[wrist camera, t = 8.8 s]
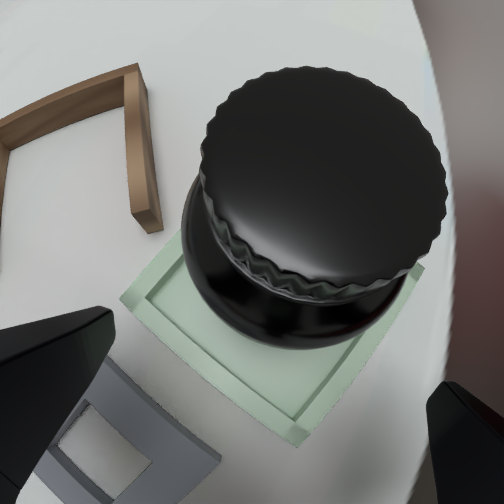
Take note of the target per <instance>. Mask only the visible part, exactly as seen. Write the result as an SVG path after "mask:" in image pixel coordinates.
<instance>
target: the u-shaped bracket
mask: <svg viewBox="0 0 504 504" xmlns="http://www.w3.org/2000/svg"><path fill="white" fill-rule="evenodd" d="M123 105H124V113H125V142H126V160H127V174H128V187H129V198H130V208H131V214H132V215H133V217H134V218H135V219H136V220H137V222H138V223H139V224H140V225H141V226H142V228H143V229H144V230H145V231H146V232H147V234H148V233H152V232H156V231H160V230H164V229H163V223H162V217H161V210H160V203H159V196H158V189H157V182H156V174H155V166H154V158H153V149H152V140H151V130H150V120H149V109H148V96H147V89H146V86H145V83H144V80H143V77H142V74H141V71H140V68H139V65H138V63H135V64H132V65H129V66H125V67H122V68H119V69H116V70H113V71H110V72H107V73H104V74H101V75H98V76H96V77H93V78H90V79H87V80H85V81H82V82H80V83H77V84H74V85H72V86H70V87H67V88H65V89H62V90H60V91H58V92H55V93H53V94H51V95H49V96H46V97H44V98H42V99H40V100H38V101H36V102H33V103H31V104H29V105H27V106H25V107H23V108H21V109H19V110H17V111H15V112H14V113H12V114H10V115H8V116H6V117H4V118H2V119H1V120H0V226H1V212H2V202H3V193H4V185H5V177H6V170H7V164H8V158H9V153H10V151H11V150H13V149H15V148H17V147H19V146H21V145H23V144H25V143H27V142H30V141H32V140H34V139H36V138H38V137H41V136H43V135H45V134H48V133H50V132H52V131H55V130H57V129H59V128H62V127H64V126H67V125H69V124H72V123H75V122H77V121H80V120H83V119H85V118H88V117H91V116H93V115H96V114H99V113H102V112H105V111H108V110H111V109H114V108H117V107H120V106H123Z"/></svg>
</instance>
